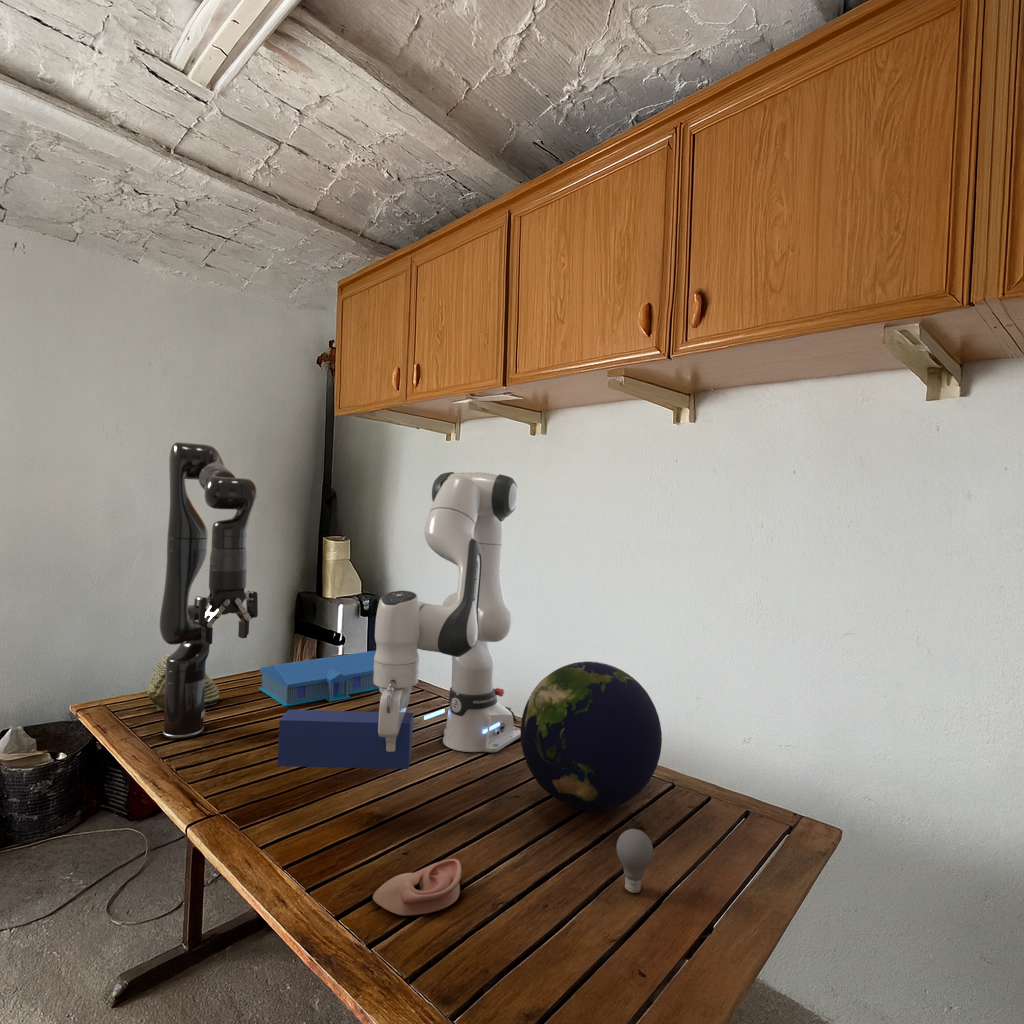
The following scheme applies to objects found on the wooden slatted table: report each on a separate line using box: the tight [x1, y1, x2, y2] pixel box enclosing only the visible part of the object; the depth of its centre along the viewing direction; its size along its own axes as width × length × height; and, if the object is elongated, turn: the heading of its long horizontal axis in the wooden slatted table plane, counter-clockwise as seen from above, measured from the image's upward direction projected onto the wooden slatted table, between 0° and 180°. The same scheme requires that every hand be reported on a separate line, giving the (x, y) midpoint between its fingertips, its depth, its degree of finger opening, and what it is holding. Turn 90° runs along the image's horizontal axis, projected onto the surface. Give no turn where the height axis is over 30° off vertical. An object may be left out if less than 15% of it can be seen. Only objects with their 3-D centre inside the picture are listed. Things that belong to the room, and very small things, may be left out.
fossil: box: [147, 654, 221, 712], centre depth 185 cm, size 9×18×15 cm, turn 132°
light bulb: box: [615, 828, 654, 894], centre depth 106 cm, size 6×6×10 cm
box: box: [277, 709, 414, 770], centre depth 126 cm, size 25×6×9 cm, turn 93°
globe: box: [520, 660, 663, 811], centre depth 136 cm, size 30×30×30 cm
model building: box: [258, 650, 380, 707], centre depth 208 cm, size 39×24×10 cm, turn 132°
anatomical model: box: [372, 858, 462, 917], centre depth 102 cm, size 13×4×12 cm
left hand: (225, 640), depth 140 cm, fingers open, 8 cm apart
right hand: (393, 742), depth 126 cm, fingers closed on box, 6 cm apart
